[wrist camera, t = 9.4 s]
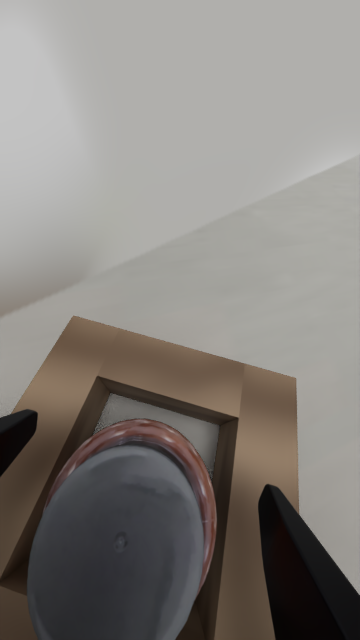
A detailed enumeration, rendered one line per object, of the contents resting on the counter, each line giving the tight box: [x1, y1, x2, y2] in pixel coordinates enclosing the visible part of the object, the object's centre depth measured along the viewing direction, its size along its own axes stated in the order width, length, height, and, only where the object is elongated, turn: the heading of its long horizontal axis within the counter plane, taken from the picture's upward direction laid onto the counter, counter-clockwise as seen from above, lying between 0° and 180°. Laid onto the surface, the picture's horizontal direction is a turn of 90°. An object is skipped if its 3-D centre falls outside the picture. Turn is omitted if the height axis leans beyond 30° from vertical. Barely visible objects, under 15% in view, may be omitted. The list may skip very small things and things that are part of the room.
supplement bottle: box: [27, 419, 217, 640], centre depth 10 cm, size 6×6×11 cm
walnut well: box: [0, 316, 299, 640], centre depth 13 cm, size 16×16×4 cm
